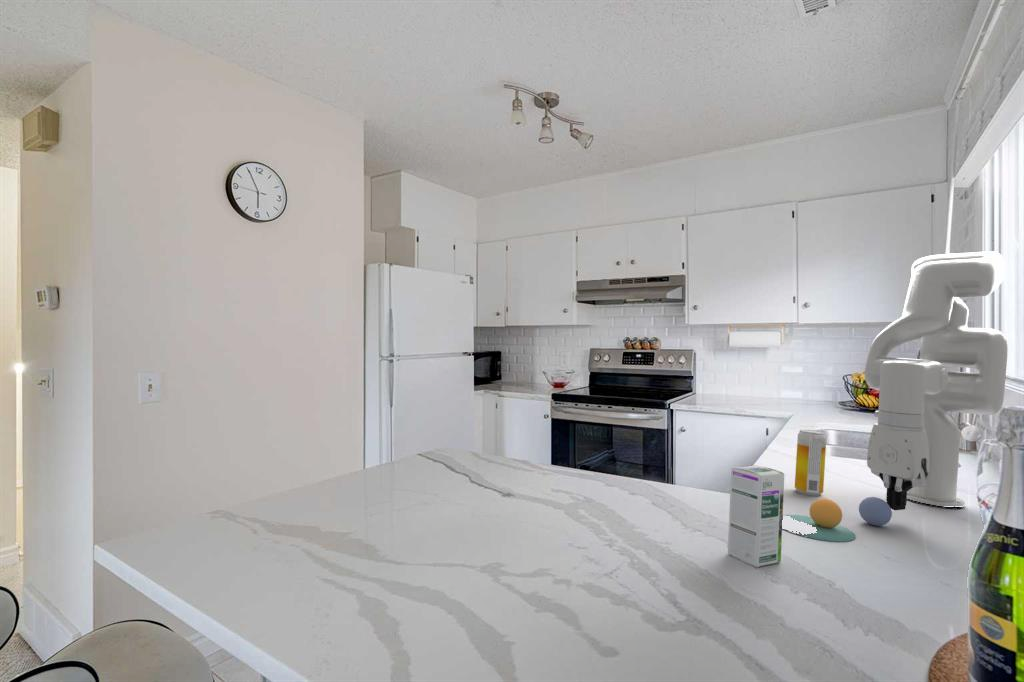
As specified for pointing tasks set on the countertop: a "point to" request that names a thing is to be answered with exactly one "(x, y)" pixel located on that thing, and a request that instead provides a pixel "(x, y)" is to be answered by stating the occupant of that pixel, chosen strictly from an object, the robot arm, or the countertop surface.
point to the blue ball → (875, 511)
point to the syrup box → (756, 515)
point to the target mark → (826, 531)
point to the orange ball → (825, 513)
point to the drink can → (810, 462)
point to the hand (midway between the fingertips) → (895, 508)
